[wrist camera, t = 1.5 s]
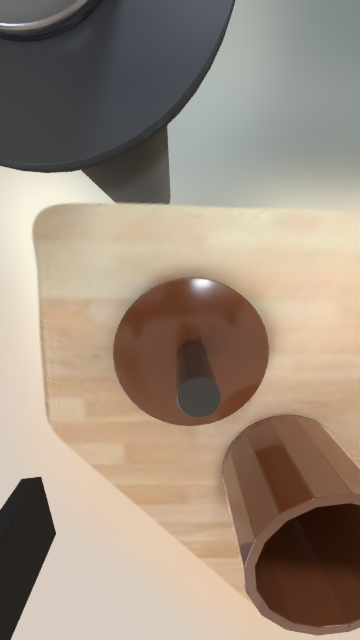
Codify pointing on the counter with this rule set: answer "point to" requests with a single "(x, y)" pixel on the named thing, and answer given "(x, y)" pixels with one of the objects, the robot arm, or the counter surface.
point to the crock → (296, 523)
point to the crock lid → (190, 351)
